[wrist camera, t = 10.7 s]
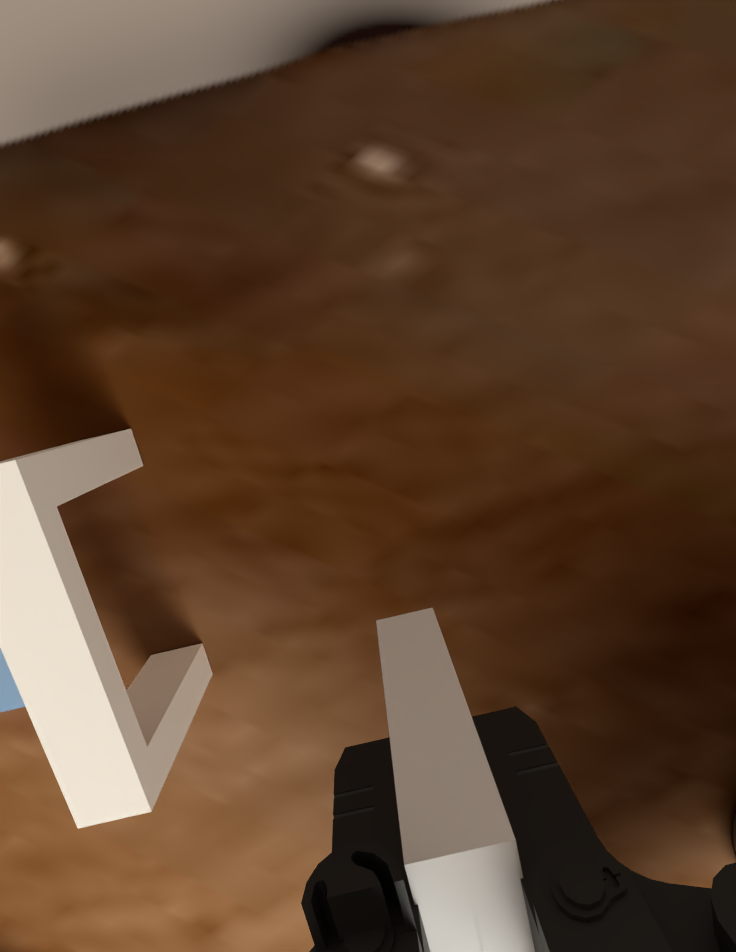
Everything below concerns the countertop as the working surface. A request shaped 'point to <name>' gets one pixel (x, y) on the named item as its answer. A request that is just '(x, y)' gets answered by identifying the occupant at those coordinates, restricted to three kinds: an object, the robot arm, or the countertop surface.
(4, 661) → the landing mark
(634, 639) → the countertop surface
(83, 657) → the bridge
